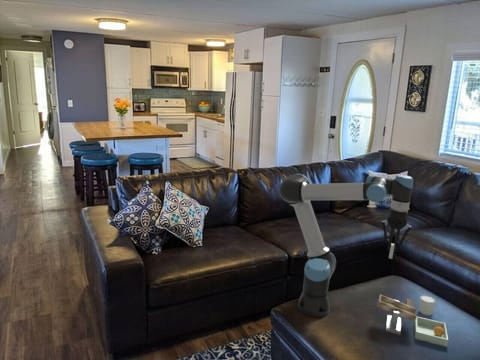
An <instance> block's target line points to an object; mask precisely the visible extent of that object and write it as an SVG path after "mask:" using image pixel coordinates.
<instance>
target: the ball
mask: <svg viewBox="0 0 480 360" xmlns="http://www.w3.org/2000/svg"><path fill="white" fill-rule="evenodd" d="M434 333H435V334H436V335H437V336H442V335H443V334H444V330H443V328H441V327H439V326H437V327H435V328H434Z"/></svg>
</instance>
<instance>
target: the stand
mask: <svg viewBox="0 0 480 360" xmlns="http://www.w3.org/2000/svg"><path fill="white" fill-rule="evenodd" d="M395 300H396V301H398V302H400V300H397V299H395ZM391 313H392V312H391ZM386 315H387V316H386V327H385V332H388V333H391V334H395V335H398V336H401V334H402V318H401V316H399V312H397V311H394V313H392V315H391V314H386Z"/></svg>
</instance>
